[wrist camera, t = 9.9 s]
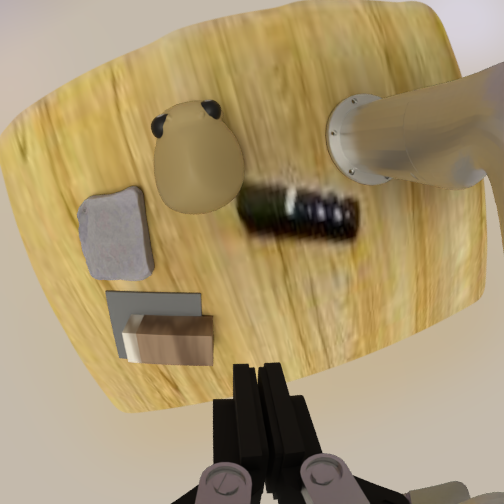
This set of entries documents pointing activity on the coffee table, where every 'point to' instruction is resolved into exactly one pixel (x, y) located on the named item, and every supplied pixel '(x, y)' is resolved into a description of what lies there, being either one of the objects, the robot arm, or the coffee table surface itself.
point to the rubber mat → (147, 308)
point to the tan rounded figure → (196, 158)
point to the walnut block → (169, 340)
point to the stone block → (116, 236)
